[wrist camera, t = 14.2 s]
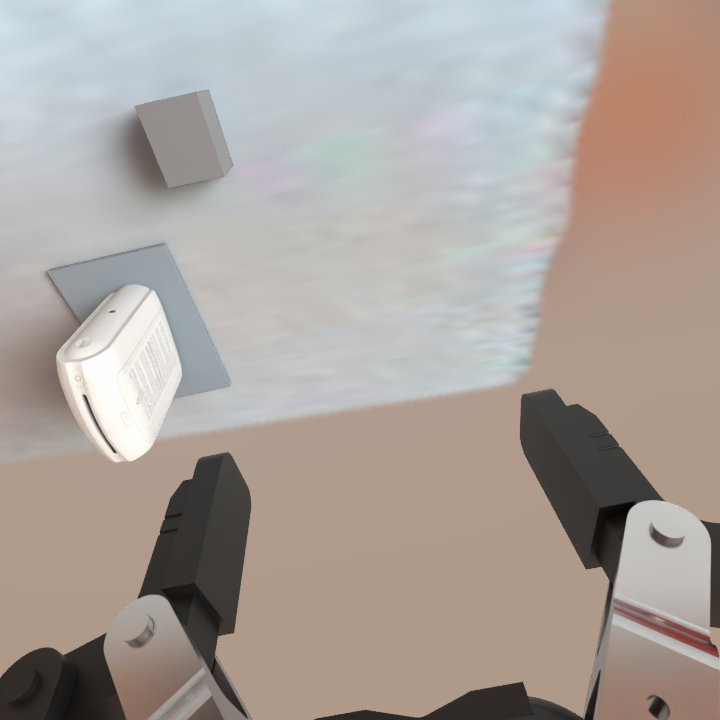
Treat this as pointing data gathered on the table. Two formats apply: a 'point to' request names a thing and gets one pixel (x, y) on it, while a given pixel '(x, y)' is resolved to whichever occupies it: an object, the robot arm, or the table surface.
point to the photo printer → (121, 373)
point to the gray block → (186, 138)
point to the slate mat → (160, 273)
